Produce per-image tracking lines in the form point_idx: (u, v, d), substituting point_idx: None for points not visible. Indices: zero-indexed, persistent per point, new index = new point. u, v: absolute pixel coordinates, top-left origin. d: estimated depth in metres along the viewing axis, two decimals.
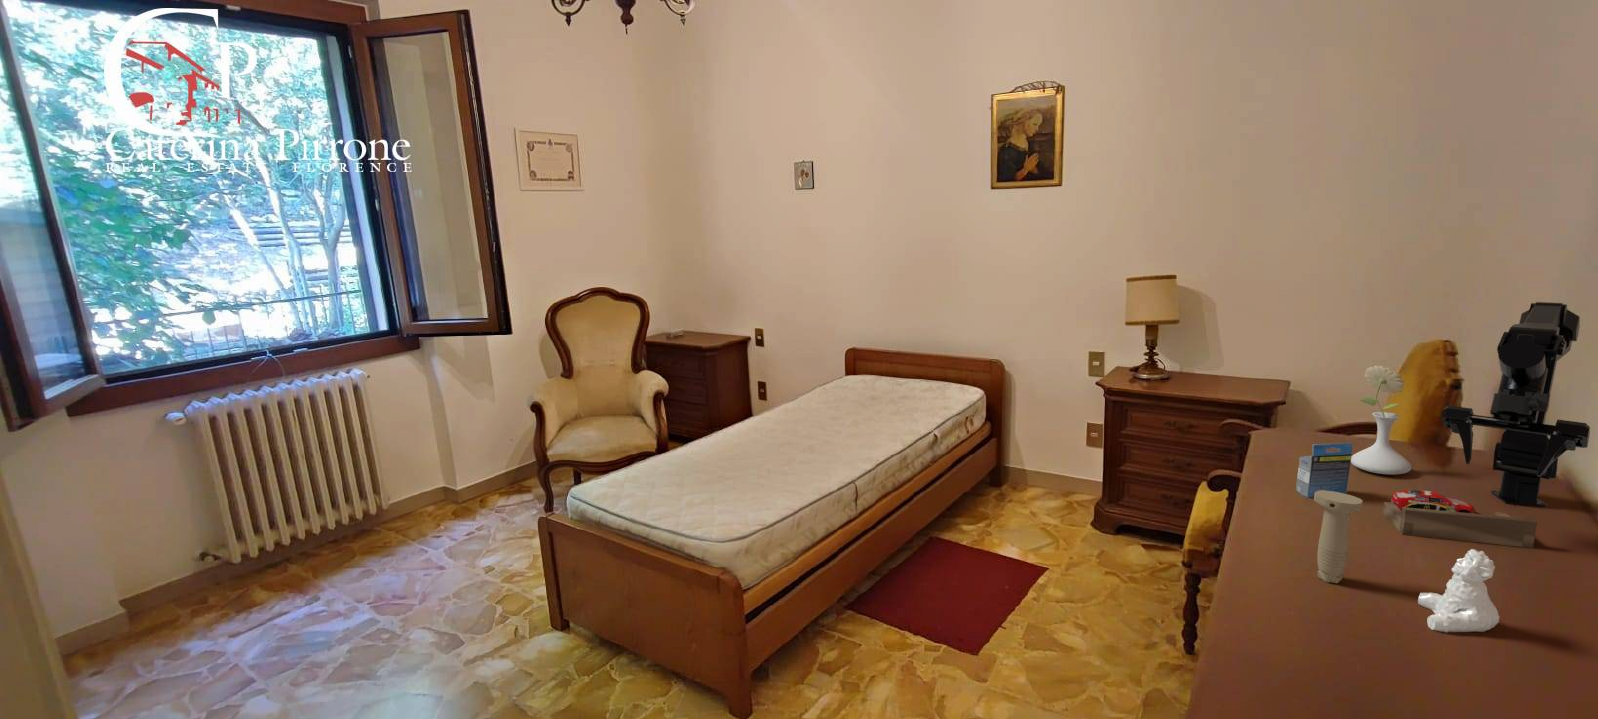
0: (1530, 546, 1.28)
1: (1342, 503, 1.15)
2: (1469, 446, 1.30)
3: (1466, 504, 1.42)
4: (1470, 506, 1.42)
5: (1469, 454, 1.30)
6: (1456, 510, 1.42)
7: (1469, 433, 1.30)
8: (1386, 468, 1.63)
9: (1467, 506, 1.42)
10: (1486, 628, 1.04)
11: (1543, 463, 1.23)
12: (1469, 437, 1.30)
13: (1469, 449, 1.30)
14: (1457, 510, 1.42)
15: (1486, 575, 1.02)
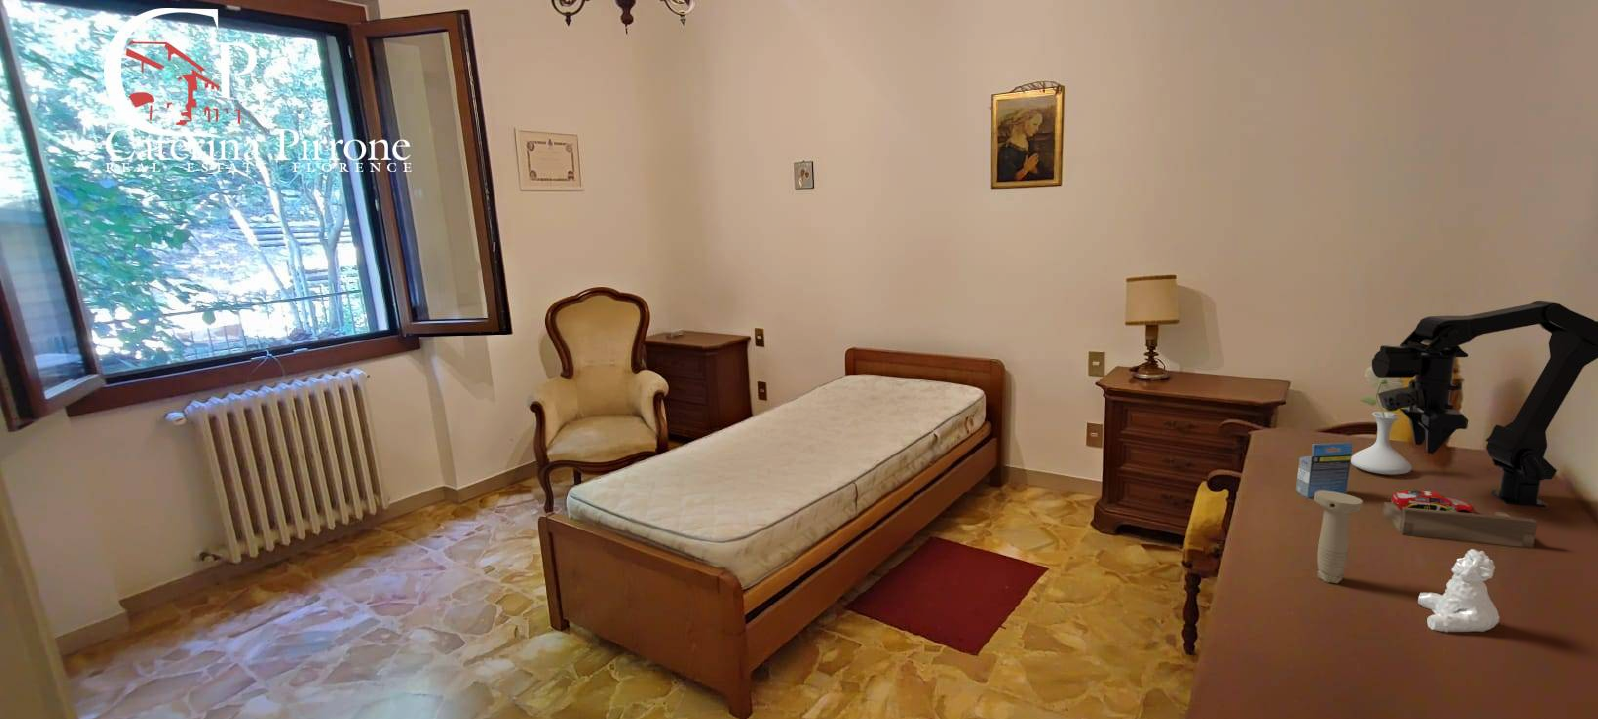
0: (1530, 546, 1.28)
1: (1342, 503, 1.15)
2: (1413, 430, 1.52)
3: (1466, 504, 1.42)
4: (1470, 506, 1.42)
5: (1414, 437, 1.52)
6: (1456, 510, 1.42)
7: (1411, 419, 1.52)
8: (1386, 468, 1.63)
9: (1467, 506, 1.42)
10: (1486, 628, 1.04)
11: (1426, 444, 1.46)
12: (1411, 423, 1.52)
13: (1413, 433, 1.52)
14: (1457, 510, 1.42)
15: (1486, 575, 1.02)
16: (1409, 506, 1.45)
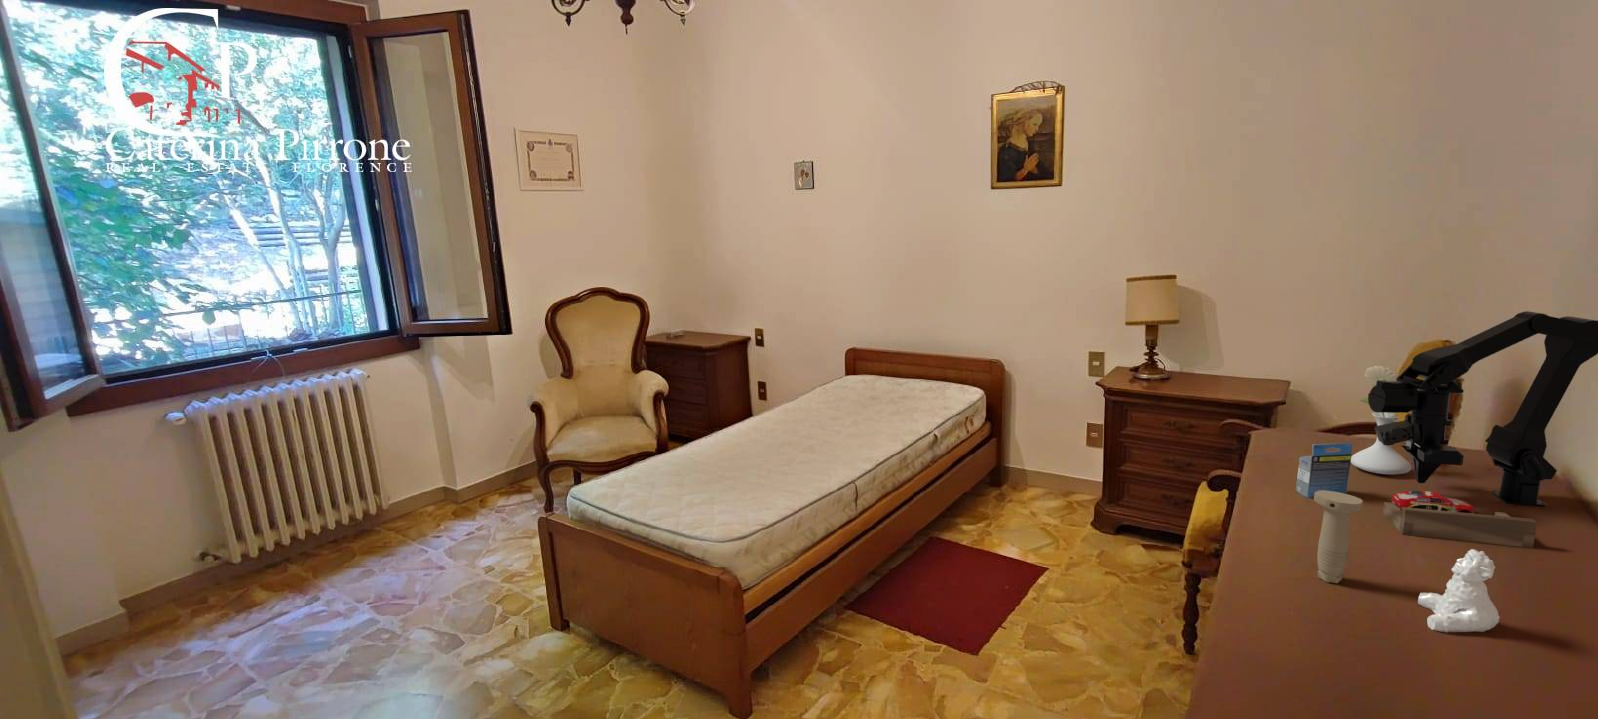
0: (1530, 546, 1.28)
1: (1342, 503, 1.15)
2: (1415, 468, 1.51)
3: (1466, 504, 1.42)
4: (1470, 506, 1.42)
5: (1416, 475, 1.51)
6: (1457, 510, 1.42)
7: (1412, 457, 1.51)
8: (1386, 468, 1.63)
9: (1467, 505, 1.42)
10: (1486, 628, 1.04)
11: (1417, 473, 1.50)
12: (1413, 460, 1.51)
13: (1415, 470, 1.51)
14: (1458, 510, 1.42)
15: (1486, 575, 1.02)
16: (1411, 507, 1.44)
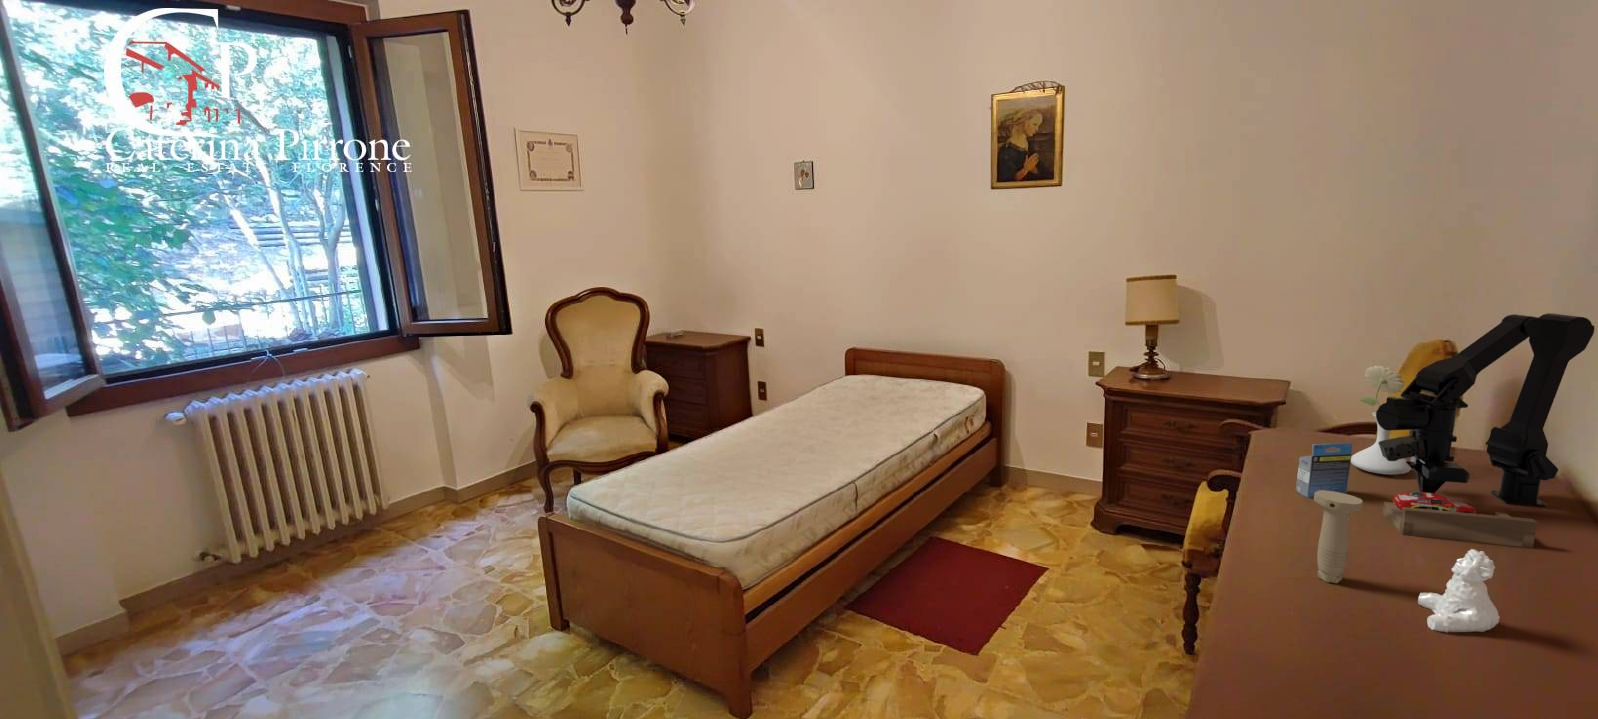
0: (1530, 546, 1.28)
1: (1342, 503, 1.15)
2: (1419, 484, 1.48)
3: (1467, 506, 1.42)
4: (1471, 508, 1.41)
5: (1420, 491, 1.48)
6: None
7: (1417, 473, 1.48)
8: (1386, 468, 1.63)
9: (1468, 507, 1.41)
10: (1486, 628, 1.04)
11: (1421, 490, 1.48)
12: (1418, 476, 1.48)
13: (1420, 487, 1.48)
14: None
15: (1486, 575, 1.02)
16: None
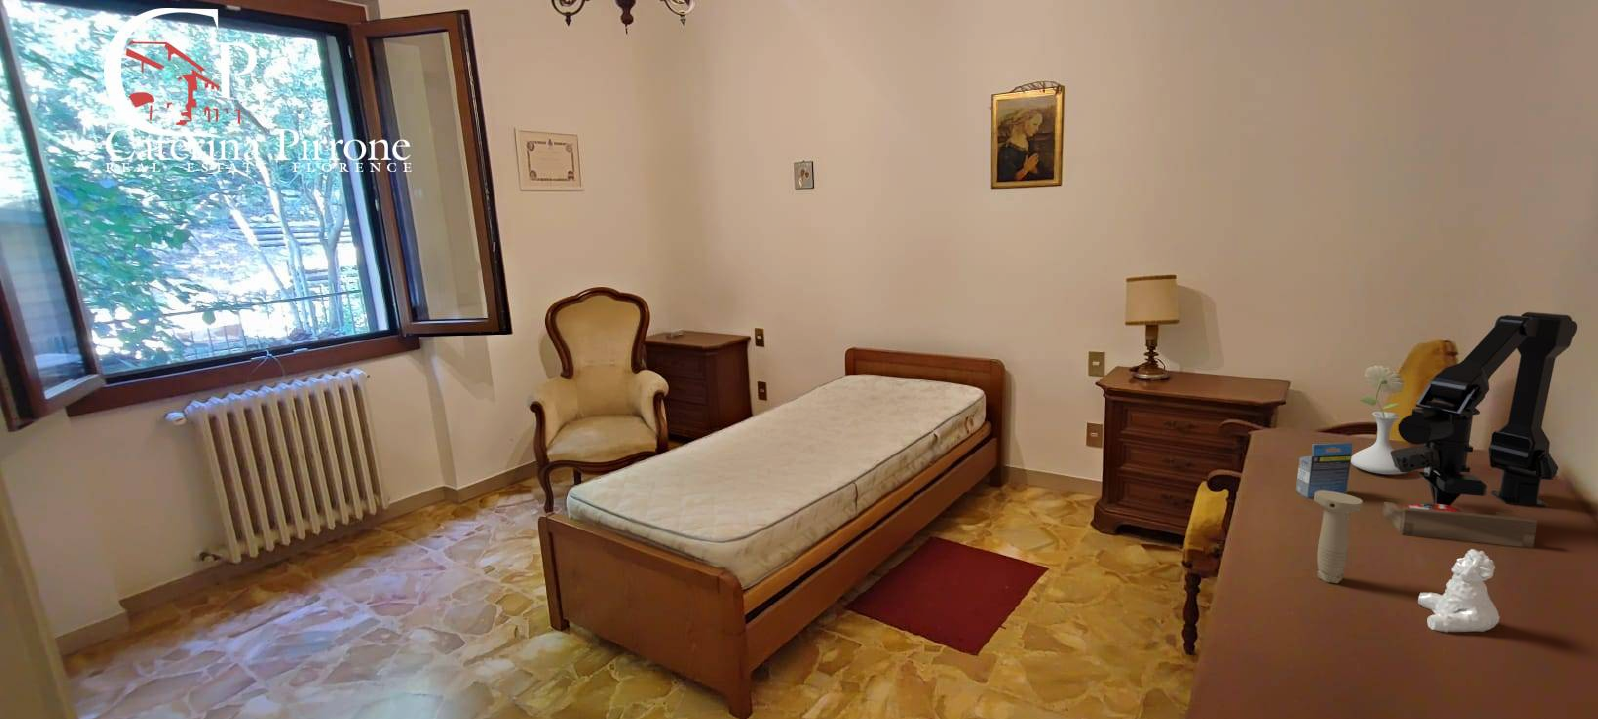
0: (1530, 546, 1.28)
1: (1342, 503, 1.15)
2: (1433, 496, 1.42)
3: None
4: None
5: (1435, 503, 1.42)
6: None
7: (1431, 484, 1.42)
8: (1386, 468, 1.63)
9: None
10: (1486, 628, 1.04)
11: (1435, 502, 1.42)
12: (1432, 488, 1.42)
13: (1434, 499, 1.42)
14: None
15: (1486, 575, 1.02)
16: None
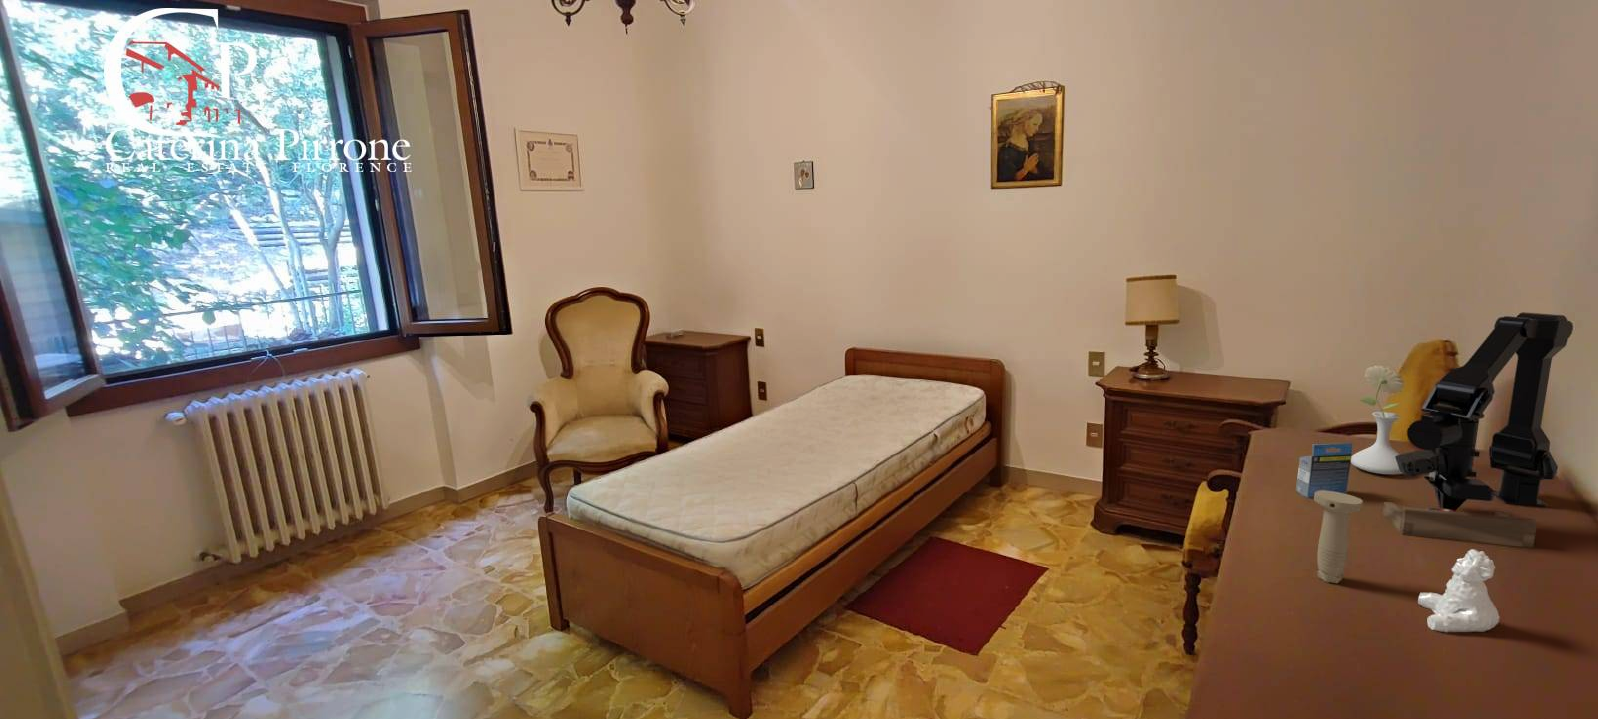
0: (1530, 546, 1.28)
1: (1342, 503, 1.15)
2: (1439, 501, 1.40)
3: None
4: None
5: None
6: None
7: (1436, 489, 1.40)
8: (1386, 468, 1.63)
9: None
10: (1486, 628, 1.04)
11: (1441, 507, 1.39)
12: (1437, 493, 1.40)
13: (1439, 504, 1.40)
14: None
15: (1486, 575, 1.02)
16: None
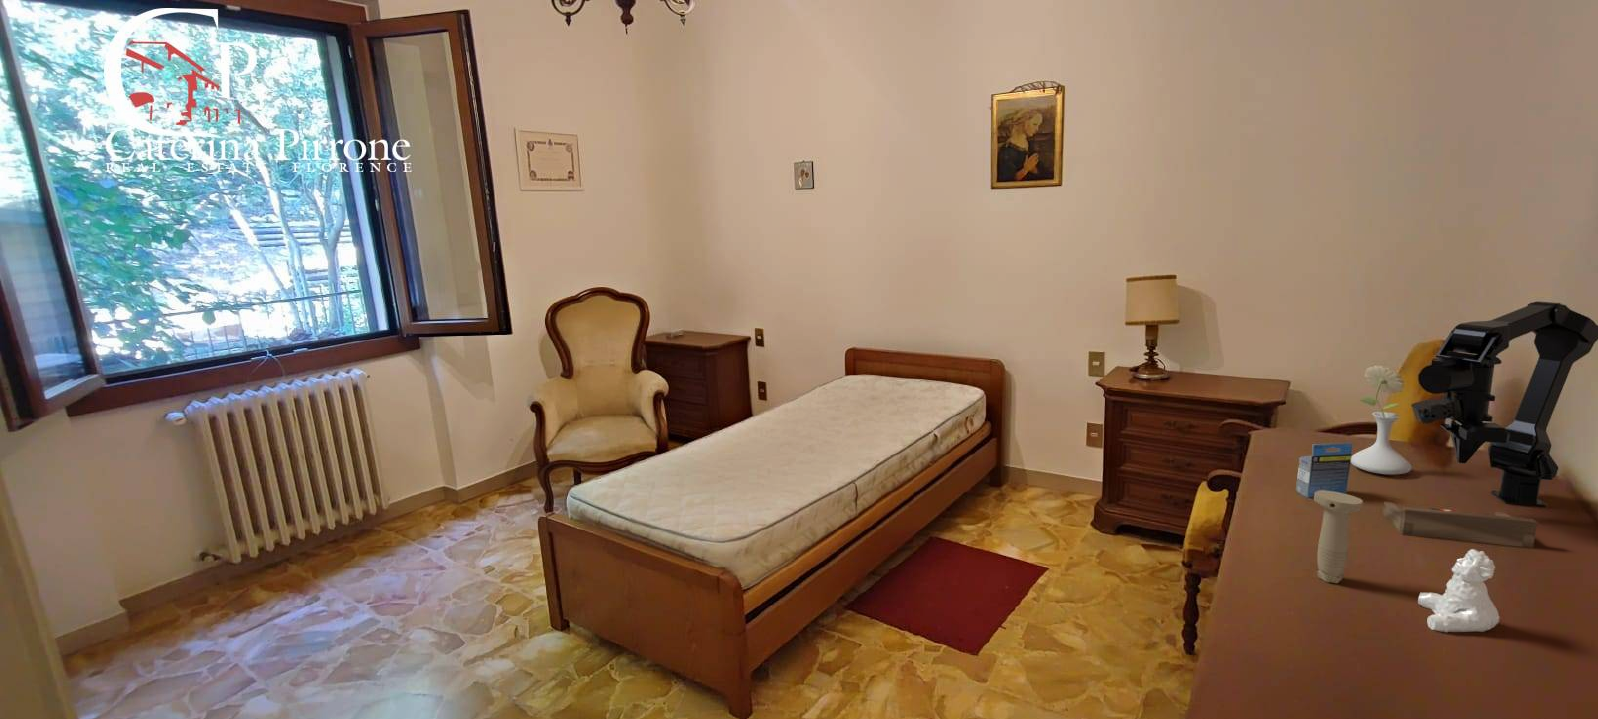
0: (1530, 546, 1.28)
1: (1342, 503, 1.15)
2: (1455, 447, 1.42)
3: None
4: None
5: (1457, 454, 1.42)
6: None
7: (1453, 435, 1.42)
8: (1386, 468, 1.63)
9: None
10: (1486, 628, 1.04)
11: (1457, 453, 1.41)
12: (1454, 439, 1.42)
13: (1456, 450, 1.42)
14: None
15: (1486, 575, 1.02)
16: None
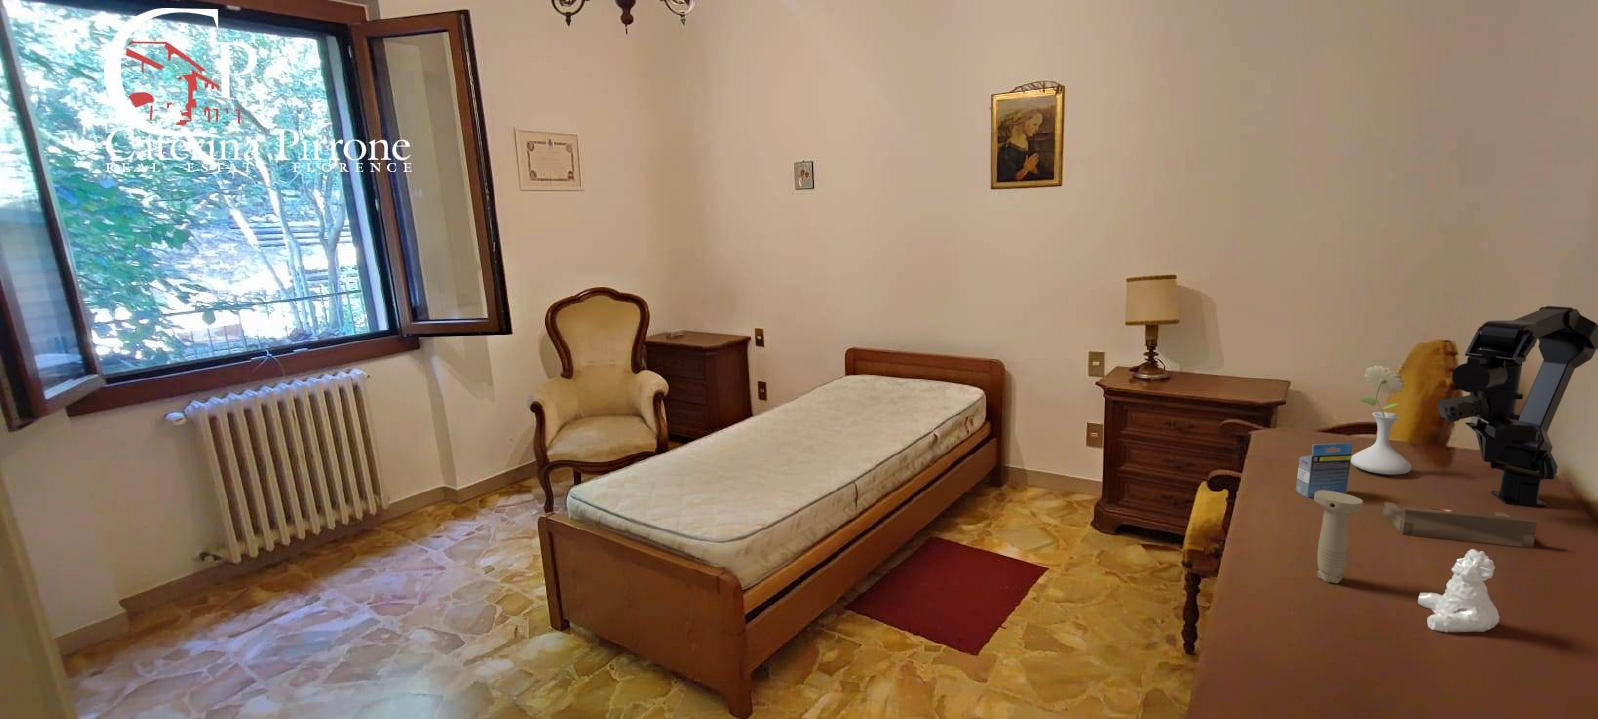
0: (1530, 546, 1.28)
1: (1342, 503, 1.15)
2: (1481, 446, 1.41)
3: None
4: None
5: (1482, 453, 1.41)
6: None
7: (1478, 434, 1.41)
8: (1386, 468, 1.63)
9: None
10: (1486, 628, 1.04)
11: (1483, 451, 1.41)
12: (1479, 437, 1.41)
13: (1481, 448, 1.41)
14: None
15: (1486, 575, 1.02)
16: None
